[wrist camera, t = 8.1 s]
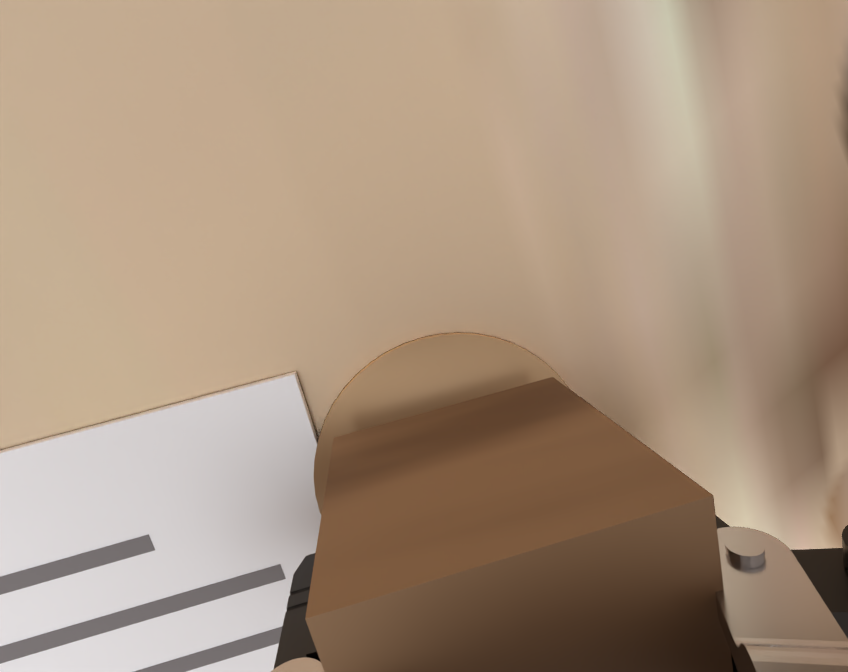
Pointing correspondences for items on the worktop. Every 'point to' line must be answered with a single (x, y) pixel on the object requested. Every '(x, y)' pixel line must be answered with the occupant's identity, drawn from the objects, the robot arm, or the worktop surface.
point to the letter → (159, 536)
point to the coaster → (424, 385)
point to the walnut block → (513, 546)
